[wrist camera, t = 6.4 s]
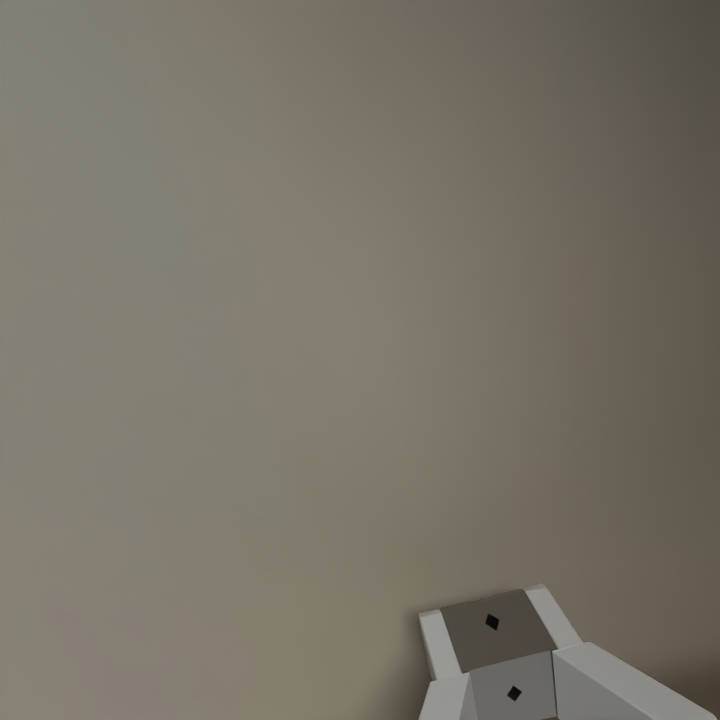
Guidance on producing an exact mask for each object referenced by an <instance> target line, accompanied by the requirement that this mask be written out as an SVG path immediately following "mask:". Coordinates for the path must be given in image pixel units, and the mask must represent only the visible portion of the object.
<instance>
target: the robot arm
mask: <svg viewBox="0 0 720 720" xmlns="http://www.w3.org/2000/svg"><path fill="white" fill-rule="evenodd" d="M418 617H419V622H420V627H421V632H422V637H423V642H424V647H425V652H426V657H427V661H428V666H429V670H430V675H431V678H432V682H430V684H429V687H428V690H427V694H426V697H425V700H424V703H423V706H422V710H421V713H420V716H419V719H418V720H542V719H546V718H551V717H555V716H558V719H559V720H717V718H716V717H715V716H714V715H713V714H712V713H710V712H709V711H707V710H705V709H704V708H702V707H700V706H698V705H697V704H695V703H693V702H692V701H690V700H688V699H687V698H685V697H683V696H682V695H680V694H678V693H676V692H675V691H673V690H671V689H670V688H668V687H666V686H665V685H663V684H661V683H659V682H658V681H656V680H654V679H653V678H651V677H649V676H648V675H646V674H644V673H643V672H641V671H639V670H637V669H636V668H634V667H632V666H631V665H629V664H627V663H626V662H624V661H622V660H621V659H619V658H617V657H615V656H614V655H612V654H610V653H609V652H607V651H605V650H604V649H602V648H600V647H598V646H597V645H595V644H593V643H592V642H586V643H583V641H582V640H581V638H580V637H579V635H578V634H577V632H576V631H575V629H574V628H573V626H572V625H571V623H570V622H569V620H568V619H567V617H566V616H565V614H564V613H563V611H562V610H561V608H560V607H559V605H558V604H557V602H556V601H555V599H554V598H553V596H552V594H551V593H550V591H549V590H548V588H547V587H546V586H545V585H544V584H542V583H541V584H537V585H533V586H529V587H525V588H521V589H516V590H512V591H508V592H505V593H501V594H497V595H493V596H489V597H485V598H481V599H480V600H475V601H470V602H466V603H461V604H457V605H452V606H447V607H443V608H440V610H439V609H435V610H431V611H426V612H422V613H418Z"/></svg>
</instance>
